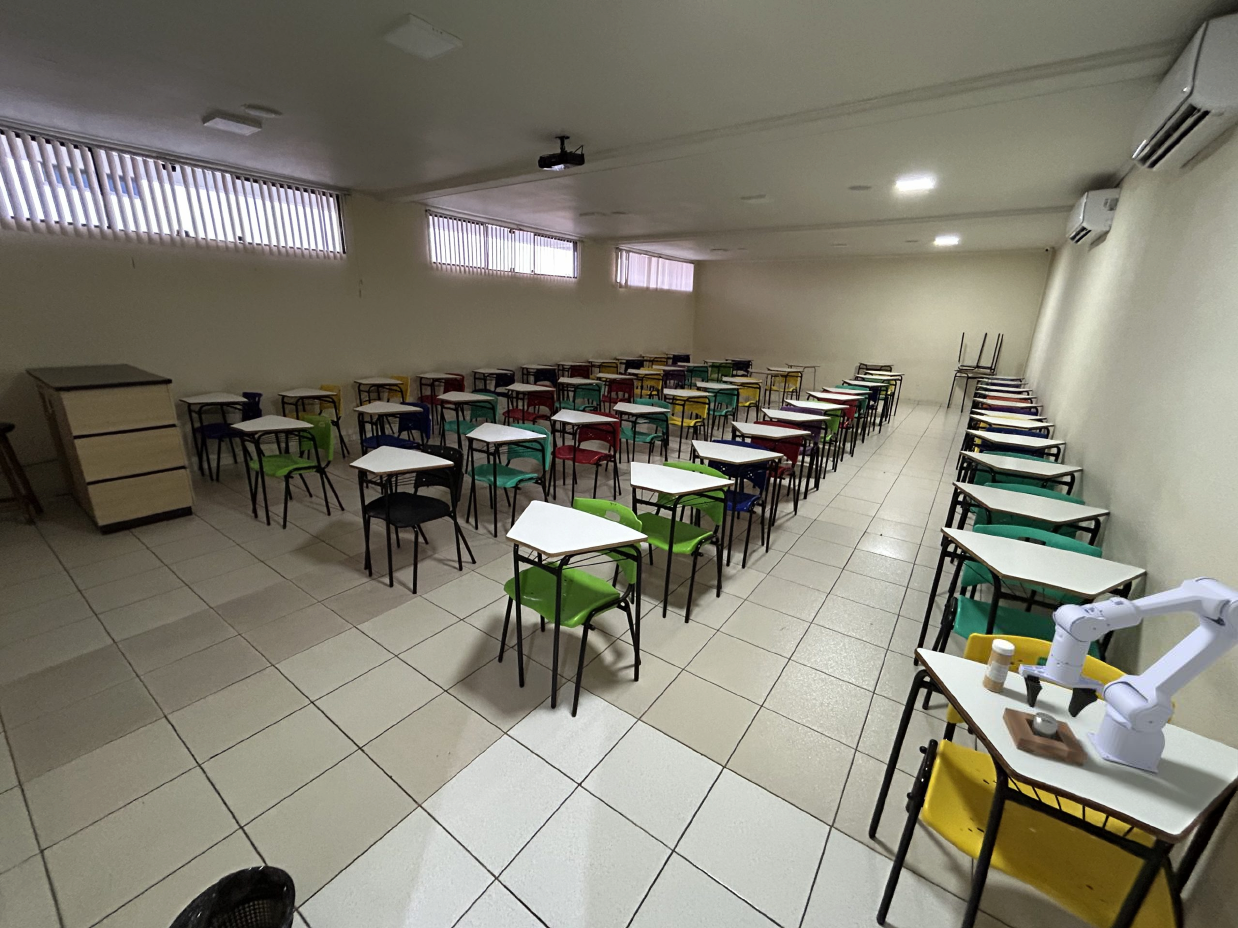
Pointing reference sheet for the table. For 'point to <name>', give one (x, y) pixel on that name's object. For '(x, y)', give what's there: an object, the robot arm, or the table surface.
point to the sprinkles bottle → (998, 665)
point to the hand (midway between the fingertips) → (1050, 709)
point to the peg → (1044, 725)
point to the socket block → (1058, 748)
